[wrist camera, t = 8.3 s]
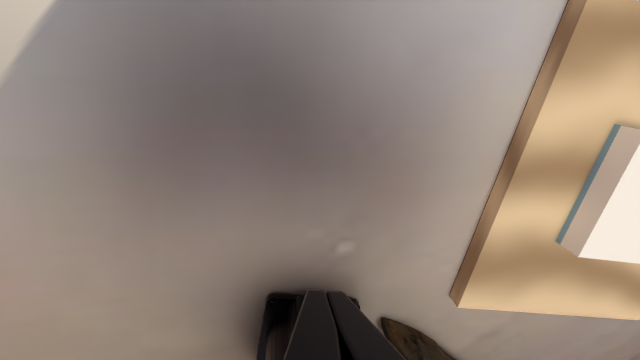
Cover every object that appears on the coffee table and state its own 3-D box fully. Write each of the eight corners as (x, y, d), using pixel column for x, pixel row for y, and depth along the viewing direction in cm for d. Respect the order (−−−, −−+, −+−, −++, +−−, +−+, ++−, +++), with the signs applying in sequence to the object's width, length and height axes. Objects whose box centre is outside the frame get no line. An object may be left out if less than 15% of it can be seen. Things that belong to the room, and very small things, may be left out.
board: (624, 308, 27) (639, 320, 26) (449, 295, 24) (457, 307, 23) (789, 53, 20) (818, 53, 19) (572, -8, 17) (591, -12, 16)
